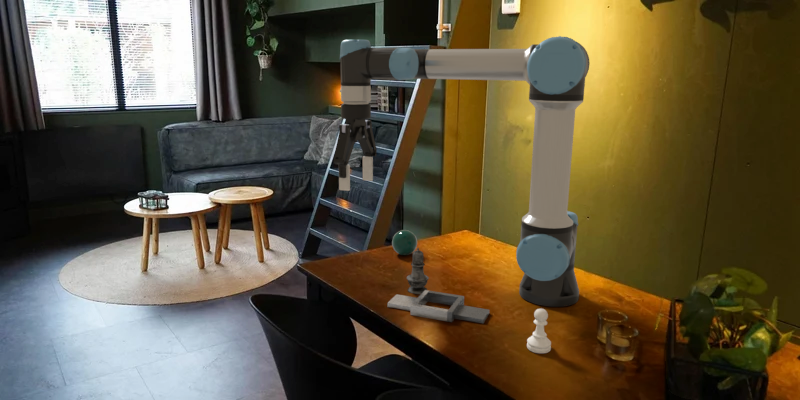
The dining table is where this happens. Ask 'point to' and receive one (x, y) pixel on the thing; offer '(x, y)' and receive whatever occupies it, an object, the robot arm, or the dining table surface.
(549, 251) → the robot arm
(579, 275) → the dining table surface
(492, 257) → the dining table surface
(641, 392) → the dining table surface
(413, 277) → the grey chess piece
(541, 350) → the chess pawn
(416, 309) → the flanged square frame
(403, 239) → the sphere
